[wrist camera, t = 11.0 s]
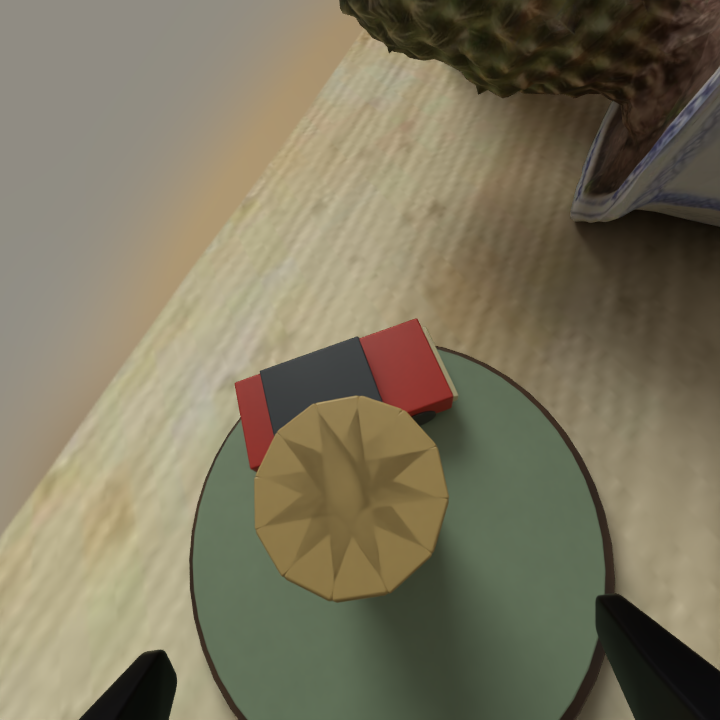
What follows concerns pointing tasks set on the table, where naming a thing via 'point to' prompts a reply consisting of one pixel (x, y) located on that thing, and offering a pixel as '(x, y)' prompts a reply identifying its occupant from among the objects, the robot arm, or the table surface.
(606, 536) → the display stand
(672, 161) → the potted plant
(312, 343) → the table surface
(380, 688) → the turntable
